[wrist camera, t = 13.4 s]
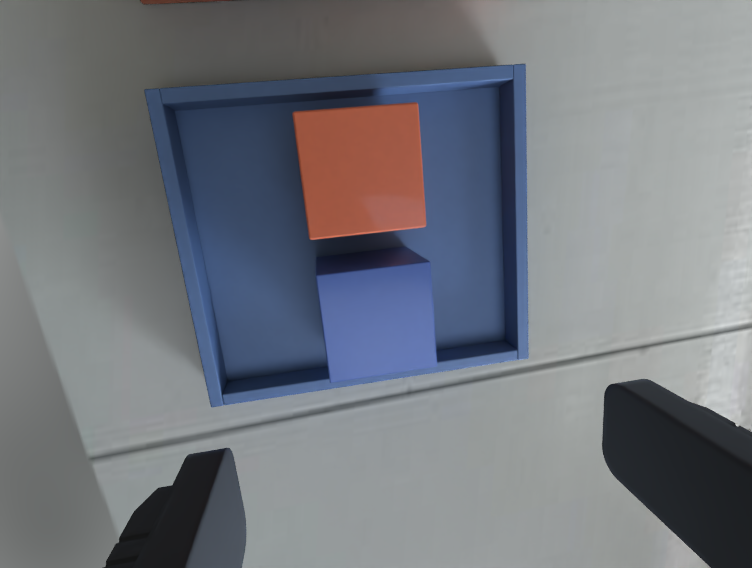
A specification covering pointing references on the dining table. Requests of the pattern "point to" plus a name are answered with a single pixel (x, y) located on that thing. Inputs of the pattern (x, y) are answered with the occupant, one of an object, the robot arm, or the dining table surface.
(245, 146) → the blue tray
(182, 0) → the clay tray
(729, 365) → the dining table surface
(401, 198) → the clay block
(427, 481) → the dining table surface
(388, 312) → the blue block
